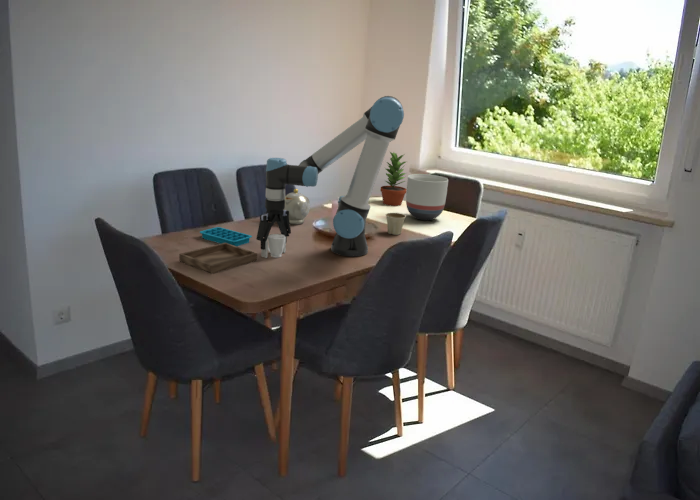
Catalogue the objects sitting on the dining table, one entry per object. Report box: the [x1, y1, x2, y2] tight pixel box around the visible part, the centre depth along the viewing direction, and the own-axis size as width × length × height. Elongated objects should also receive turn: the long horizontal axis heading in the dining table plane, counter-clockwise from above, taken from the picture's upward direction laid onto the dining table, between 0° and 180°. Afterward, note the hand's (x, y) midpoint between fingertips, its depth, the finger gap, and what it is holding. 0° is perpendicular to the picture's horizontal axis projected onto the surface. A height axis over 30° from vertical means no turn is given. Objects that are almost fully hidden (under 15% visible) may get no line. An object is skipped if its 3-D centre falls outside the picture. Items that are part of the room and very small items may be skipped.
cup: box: [266, 233, 286, 259], centre depth 234 cm, size 7×10×8 cm
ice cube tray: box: [199, 226, 253, 247], centre depth 250 cm, size 12×20×3 cm, turn 57°
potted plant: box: [380, 150, 407, 207], centre depth 332 cm, size 15×15×30 cm
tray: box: [178, 243, 258, 275], centre depth 223 cm, size 18×22×3 cm
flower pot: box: [385, 212, 407, 236], centre depth 276 cm, size 9×9×9 cm
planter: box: [405, 173, 449, 221], centre depth 304 cm, size 20×20×21 cm
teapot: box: [283, 188, 311, 226], centre depth 283 cm, size 18×14×16 cm
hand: (273, 254), depth 235 cm, fingers open, 9 cm apart
